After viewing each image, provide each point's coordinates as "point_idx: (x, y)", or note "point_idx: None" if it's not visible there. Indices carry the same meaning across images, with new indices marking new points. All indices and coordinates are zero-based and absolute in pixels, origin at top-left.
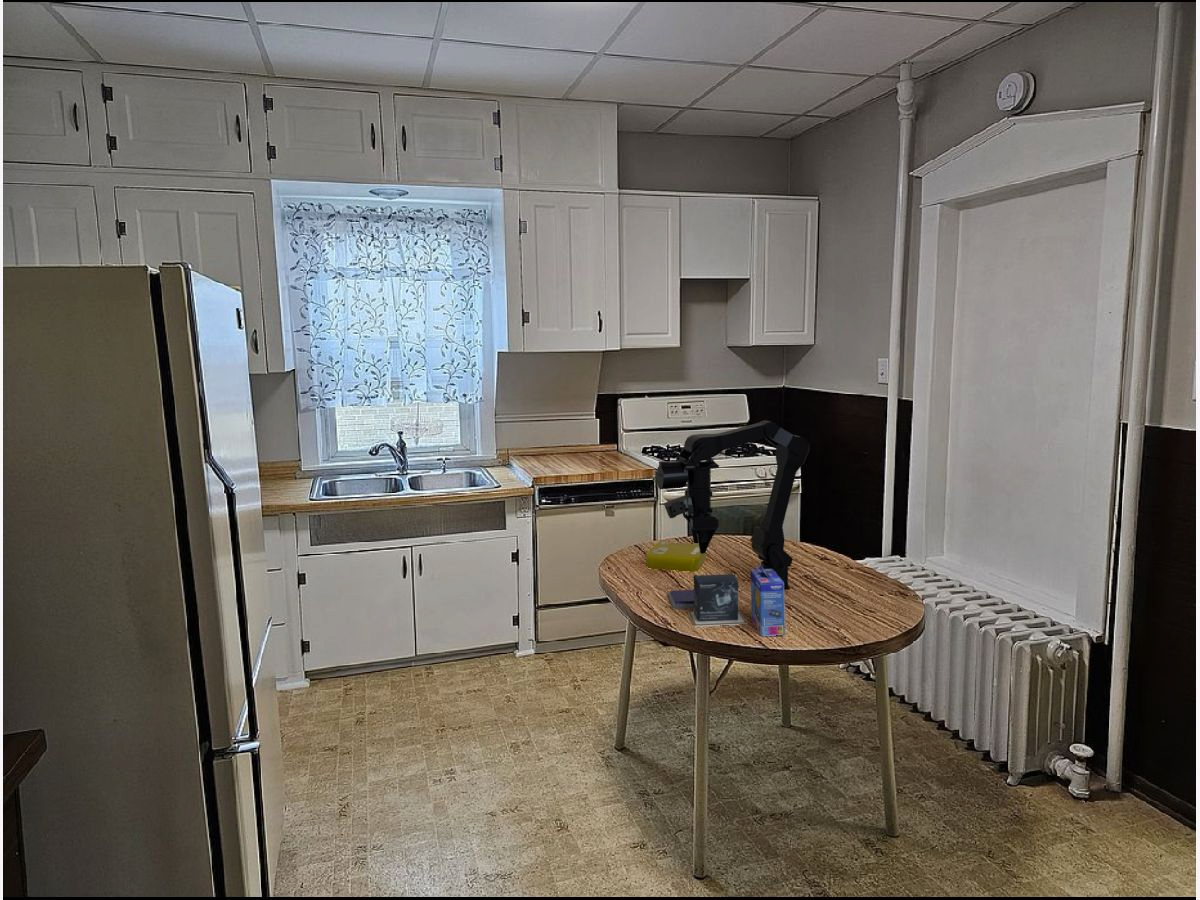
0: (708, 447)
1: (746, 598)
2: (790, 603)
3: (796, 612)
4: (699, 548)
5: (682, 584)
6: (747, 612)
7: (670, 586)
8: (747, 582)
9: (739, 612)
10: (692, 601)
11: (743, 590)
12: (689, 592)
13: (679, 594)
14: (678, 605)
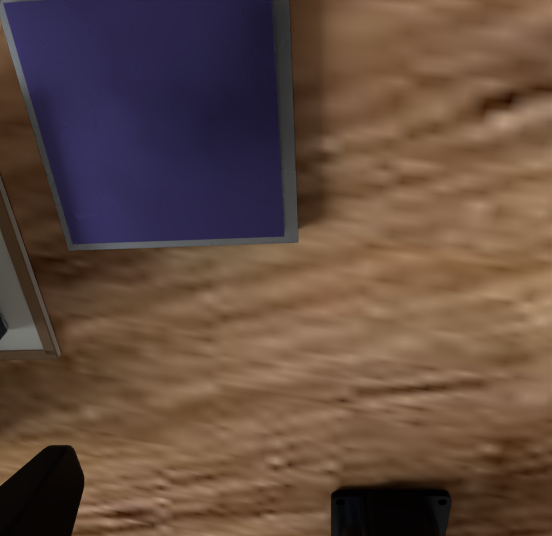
0: None
1: (235, 409)
2: (173, 526)
3: (75, 522)
4: (24, 495)
5: (548, 114)
6: (43, 382)
7: (532, 9)
8: (469, 451)
9: (6, 355)
10: (44, 141)
11: (352, 417)
12: (221, 141)
13: (173, 57)
14: (9, 29)
